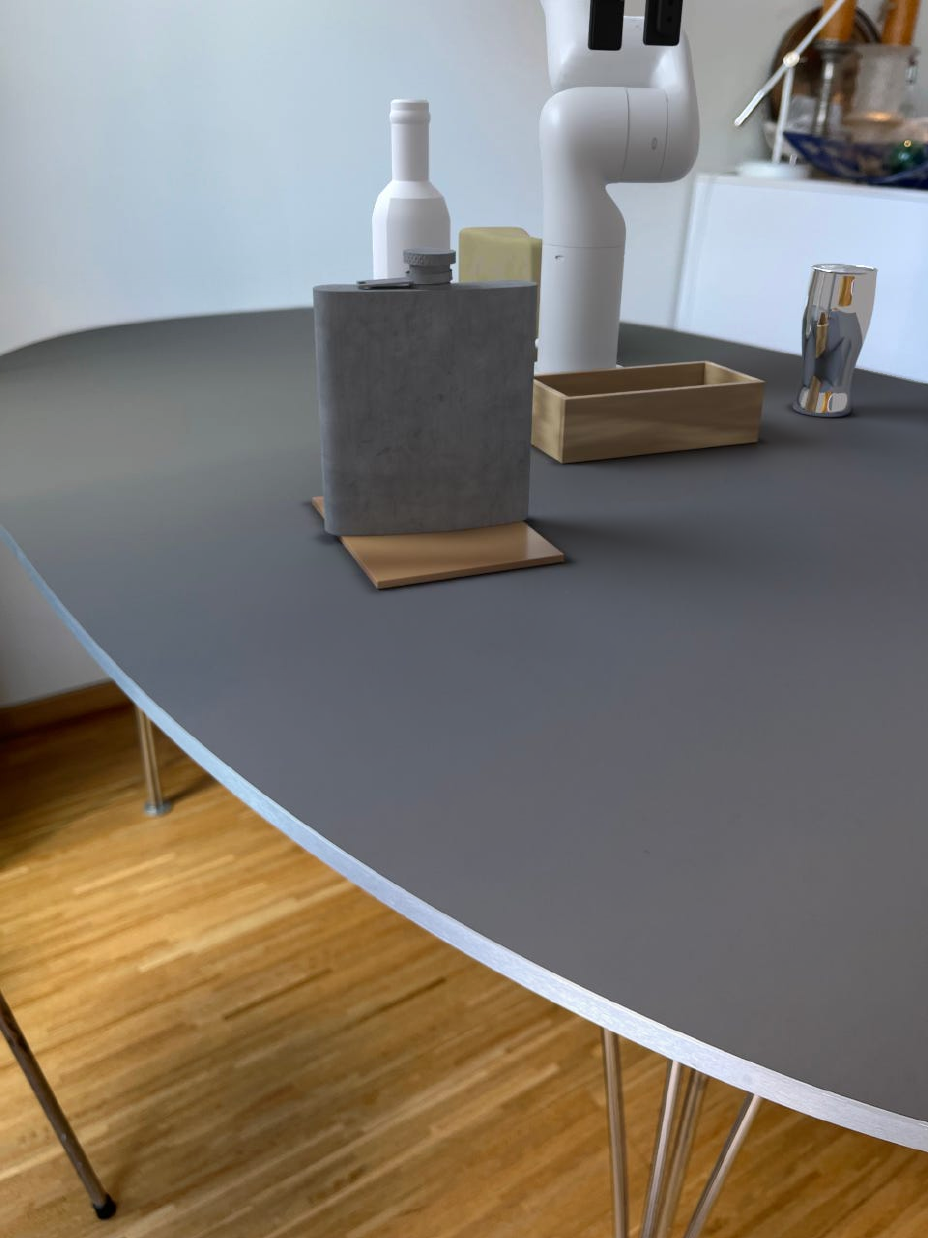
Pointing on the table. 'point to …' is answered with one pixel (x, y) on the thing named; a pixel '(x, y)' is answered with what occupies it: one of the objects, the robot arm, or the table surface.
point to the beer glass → (833, 336)
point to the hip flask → (425, 400)
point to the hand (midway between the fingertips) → (631, 47)
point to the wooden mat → (447, 552)
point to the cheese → (500, 257)
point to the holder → (643, 410)
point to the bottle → (408, 195)
